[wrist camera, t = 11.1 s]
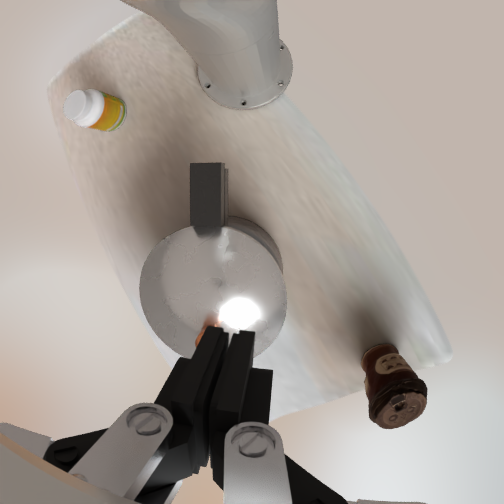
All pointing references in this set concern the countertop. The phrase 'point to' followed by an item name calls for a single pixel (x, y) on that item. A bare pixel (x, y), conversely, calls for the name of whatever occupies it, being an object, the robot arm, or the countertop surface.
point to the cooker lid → (211, 275)
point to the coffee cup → (392, 388)
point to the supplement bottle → (95, 110)
